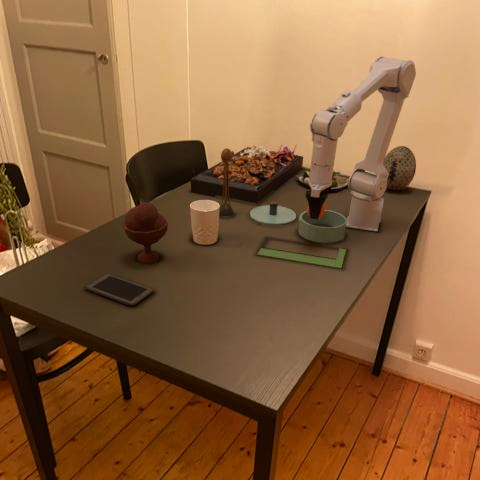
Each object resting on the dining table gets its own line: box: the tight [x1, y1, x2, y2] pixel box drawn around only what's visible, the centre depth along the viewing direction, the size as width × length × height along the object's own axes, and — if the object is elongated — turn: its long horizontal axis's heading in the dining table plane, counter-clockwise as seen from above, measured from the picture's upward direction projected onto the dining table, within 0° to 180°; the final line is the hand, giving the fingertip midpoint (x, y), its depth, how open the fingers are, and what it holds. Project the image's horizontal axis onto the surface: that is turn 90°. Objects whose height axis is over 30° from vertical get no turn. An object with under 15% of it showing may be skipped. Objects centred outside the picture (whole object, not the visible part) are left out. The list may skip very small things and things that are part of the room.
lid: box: [249, 200, 297, 226], centre depth 143 cm, size 14×14×5 cm
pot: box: [297, 209, 347, 244], centre depth 134 cm, size 13×13×5 cm
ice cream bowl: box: [122, 201, 169, 264], centre depth 116 cm, size 11×11×15 cm
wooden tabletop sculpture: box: [219, 147, 235, 217], centre depth 140 cm, size 6×5×20 cm
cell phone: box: [85, 273, 153, 307], centre depth 107 cm, size 7×14×1 cm, turn 61°
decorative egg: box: [383, 145, 417, 192], centre depth 164 cm, size 12×12×15 cm
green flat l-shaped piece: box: [256, 246, 347, 270], centre depth 125 cm, size 22×11×1 cm, turn 73°
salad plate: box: [294, 169, 349, 194], centre depth 171 cm, size 19×18×5 cm
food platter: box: [190, 143, 304, 204], centre depth 170 cm, size 45×25×10 cm, turn 155°
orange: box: [306, 202, 327, 219], centre depth 125 cm, size 5×5×5 cm
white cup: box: [189, 199, 221, 246], centre depth 127 cm, size 8×8×10 cm
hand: (315, 214), depth 125 cm, fingers closed on orange, 5 cm apart
